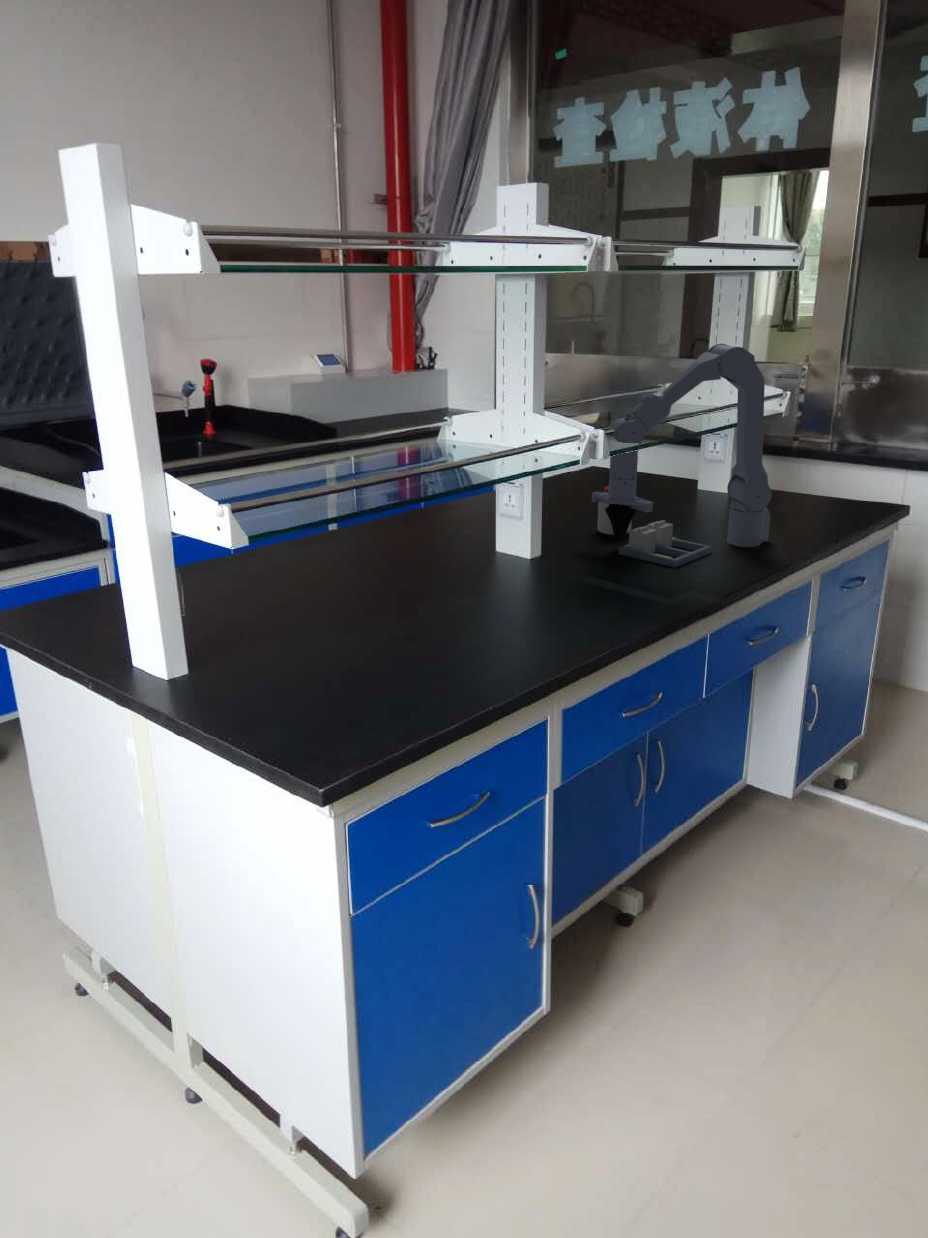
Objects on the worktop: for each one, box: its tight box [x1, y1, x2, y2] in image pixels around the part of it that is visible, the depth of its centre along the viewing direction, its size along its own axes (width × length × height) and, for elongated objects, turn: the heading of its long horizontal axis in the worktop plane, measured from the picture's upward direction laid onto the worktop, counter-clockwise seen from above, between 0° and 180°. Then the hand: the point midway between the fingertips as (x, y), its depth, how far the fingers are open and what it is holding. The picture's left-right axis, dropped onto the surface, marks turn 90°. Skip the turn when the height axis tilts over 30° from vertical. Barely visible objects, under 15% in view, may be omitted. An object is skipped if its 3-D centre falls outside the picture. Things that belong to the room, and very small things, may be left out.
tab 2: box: [646, 519, 674, 548], centre depth 201 cm, size 4×4×6 cm
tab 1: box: [628, 525, 656, 554], centre depth 197 cm, size 4×4×6 cm
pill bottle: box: [596, 485, 633, 536], centre depth 214 cm, size 8×8×11 cm
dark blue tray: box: [618, 536, 713, 568], centre depth 199 cm, size 14×19×3 cm
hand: (619, 538), depth 201 cm, fingers closed
